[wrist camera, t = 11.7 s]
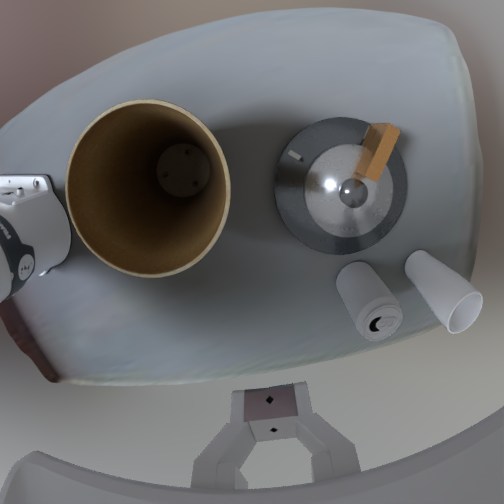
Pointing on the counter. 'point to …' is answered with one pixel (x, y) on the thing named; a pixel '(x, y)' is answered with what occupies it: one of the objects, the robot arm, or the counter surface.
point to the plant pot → (148, 188)
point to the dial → (352, 183)
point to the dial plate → (292, 177)
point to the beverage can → (369, 301)
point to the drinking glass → (444, 291)
